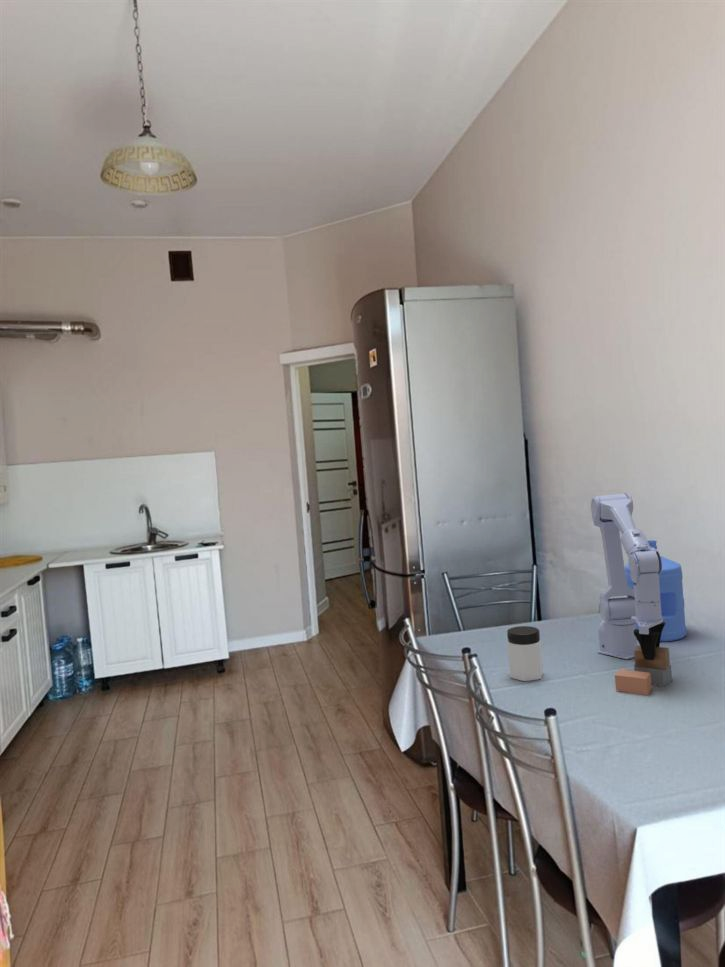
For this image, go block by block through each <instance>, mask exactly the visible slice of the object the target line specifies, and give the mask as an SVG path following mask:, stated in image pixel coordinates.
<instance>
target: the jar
mask: <svg viewBox="0 0 725 967" xmlns="http://www.w3.org/2000/svg"><path fill="white" fill-rule="evenodd" d="M506 632H507V635H506V636H507V644H506V645H507V653H508V666H509V667H508V668H509V677H510V679H514V680H517V681H522V682H529V681H537V680H541V679H542V677H543V674H544V668H543V656H542V640H541V636H540V630H539V628H537V627H534V626H525V625H523V626H514V627H510V628H508V629H507V631H506Z"/></svg>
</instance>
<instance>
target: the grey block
mask: <svg viewBox="0 0 725 967" xmlns="http://www.w3.org/2000/svg"><path fill="white" fill-rule="evenodd" d="M633 668H634V670H633V671H640V672H649V673H651V683H652V685H654V684H656V685H655V686H658V685H661V686H660V687H663V686H664V687H665V686H667V685H668V683H669V682H670V683H672V682H673V673H672V672H673V671H672V665H671V664H670V665H669V666H668V668H667V670H662V669H651V668H641V667H635V664H634V666H633ZM671 681H672V682H671ZM670 683H669V684H670ZM666 684H667V685H666Z"/></svg>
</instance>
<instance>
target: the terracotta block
mask: <svg viewBox="0 0 725 967" xmlns="http://www.w3.org/2000/svg"><path fill="white" fill-rule="evenodd" d="M614 684H615V691H616V690H618V691H617V692H619V691H623V692H622V693H626V692H630V693H629V694H634V693H637V694H636V695H642V694H643V696H648V695H649V694H650V692H651V691H652V689H653V687H652V686H653V684H651V673H649V672H640V671H634V670H629V669H619V670H618V671H617V672H616V673H615V674H614ZM651 688H652V689H651ZM650 690H651V691H650ZM648 693H649V694H648Z"/></svg>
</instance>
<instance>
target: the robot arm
mask: <svg viewBox="0 0 725 967" xmlns="http://www.w3.org/2000/svg"><path fill="white" fill-rule="evenodd" d="M633 502H634V501H633V499H632V496H631V495H630V494H629V493H628V492H624V493H617V494H605V495H604V494H603V495H593V497H592V498H591V502H590V510H591V516H592V518H591V519H592V522H593V526H595V527H598V528H599V530H600V533H601V540H602V547H603V548H602V549H603V554H604V561H605V563H604V564H605V570H606V576H607V582H608V583H607V584H608V585H607V587H606V588H605V589H604V590H602V591H601V593H600V594H599V612H600V616H601V618H602V621H600V623H599V626H598V640H599V642H598V643H599V644H598V645H599V650H598V651H597V652H598V654H602V655H605V656H606V655H607V656H612V657H615V658H620V659H623V660H624V659H625V660H629V659H630V660H631V659H633V658H635V655H634V650H635V649H636V647H637V646H638V643H639V645H640V647H641V650H642V653H643V656H644V659H645V660H654V658H655V650H656V647H661V642H660V639H661V634H662V630H663V628H664V626H665V622H663V618H662V614H661V600H660V587H659V574H660V573H661V571H662V559H661V553H660V552H659V550H658V549H657V550H656V549H654V548H651V547H650V545H649V543H648V541H649V540H647V538H646V535H645V533H644V532H643V531H642V530H640V529H638V528H637V527H636V525H635V522H634V520H633V517H632V515H633V512H634V503H633ZM622 547H623V548H622ZM623 549H624V551H625V553H626V555H627V558H628V559H627V560H628V561H627V564H628V565H629V569H630V573H631V579H632V581H633V582H634V590H633V589H632V588H630V587H628V586H627V581H626V574H625V563H624V562H625V561H624V560H625V559H624V555H623ZM657 573H659V574H657ZM627 596H628V597H627ZM615 597H616V598H615ZM636 623H637V624H638V626H639V629H636Z"/></svg>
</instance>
